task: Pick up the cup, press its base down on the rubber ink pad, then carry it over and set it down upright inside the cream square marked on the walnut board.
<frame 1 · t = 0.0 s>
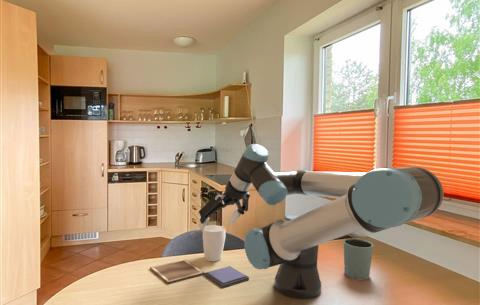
hand: (216, 225, 122), 15 cm above the table, tool tilted 35°, fingers open, 13 cm apart
cup: (213, 258, 130), on the table
ink pad: (226, 277, 114), on the table
marked board: (177, 271, 116), on the table
green tumbler: (355, 275, 121), on the table
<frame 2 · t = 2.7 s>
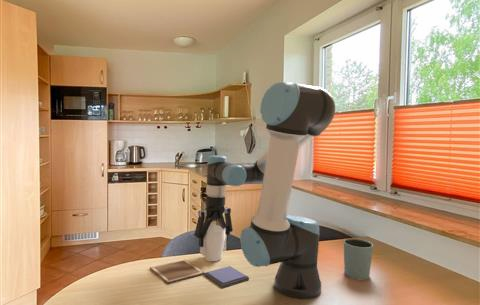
hand: (213, 252, 130), 3 cm above the table, tool pointing down, fingers closed on cup, 9 cm apart
cup: (212, 258, 130), on the table, touching gripper
everything else where it was.
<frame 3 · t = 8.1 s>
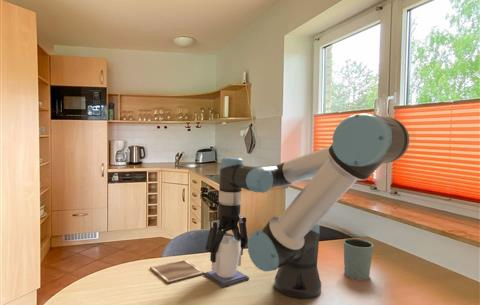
hand: (226, 267, 114), 3 cm above the table, tool pointing down, fingers closed on cup, 9 cm apart
cup: (226, 274, 114), point 1 cm above the table, touching gripper, ink pad
everything else where it was.
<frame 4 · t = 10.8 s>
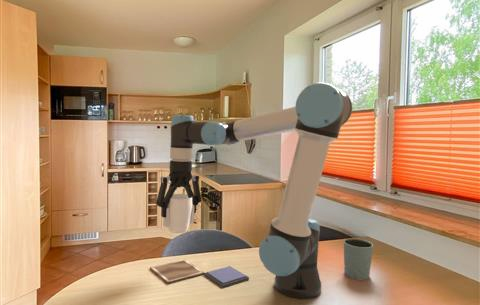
hand: (178, 224, 115), 17 cm above the table, tool pointing down, fingers closed on cup, 9 cm apart
cup: (178, 230, 116), point 15 cm above the table, touching gripper
everything else where it was.
when the fingers open (4 cm above the table, at t = 13.4 s): cup drops 2 cm, resting on marked board.
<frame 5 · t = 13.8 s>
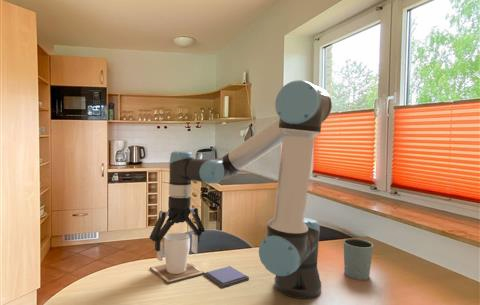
hand: (177, 255, 116), 6 cm above the table, tool pointing down, fingers open, 13 cm apart
cup: (176, 270, 116), resting on marked board
everything else where it was.
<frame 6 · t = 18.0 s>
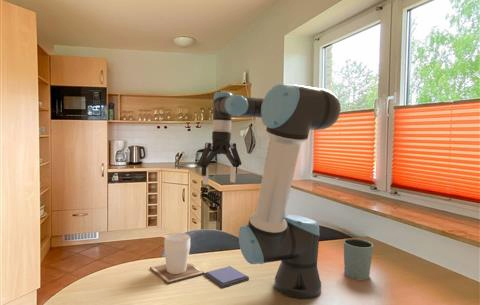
hand: (219, 183, 135), 29 cm above the table, tool pointing down, fingers open, 13 cm apart
nothing on the table moved.
at the end: cup 0.3 cm off-centre on the marked board, point 0.4 cm above the marked board's base; cup tilted 0°; the gripper is holding nothing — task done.
